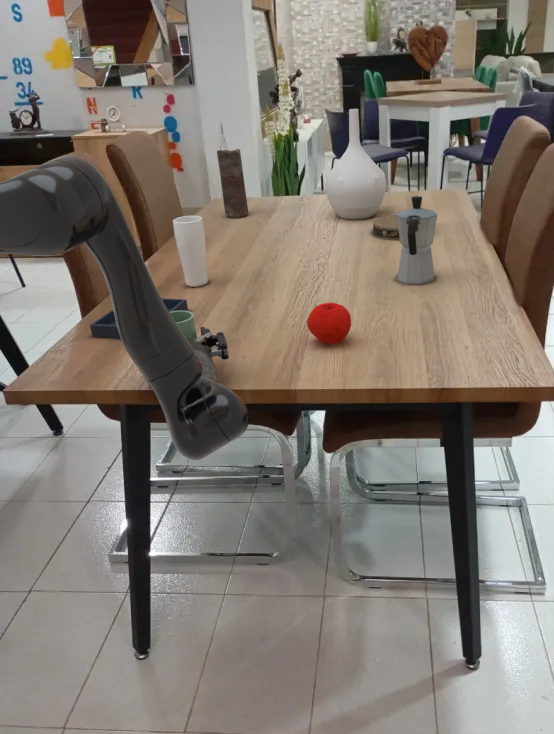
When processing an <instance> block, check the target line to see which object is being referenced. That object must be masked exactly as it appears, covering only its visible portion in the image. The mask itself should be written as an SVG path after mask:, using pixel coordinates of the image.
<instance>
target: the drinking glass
mask: <svg viewBox="0 0 554 734" xmlns="http://www.w3.org/2000/svg"><path fill="white" fill-rule="evenodd" d="M203 219H204V218H203V217H202V216H199V215H184V216H183V215H182V216H179V217H176V218H174V219H173V220H172V227H173V235H174V239H175V243H176V244H175V245H176V248H177V253H178V256H179V260H180V265H181V269H182V274H183V278H184V283H185V285H186V286H188V287H190V288H197V287H202V286H205V285H207V284H208V283H209V277H208V262H207V245H206V244H207V242H206V232H205V231H206V230H205V225H204V220H203Z"/></svg>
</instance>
